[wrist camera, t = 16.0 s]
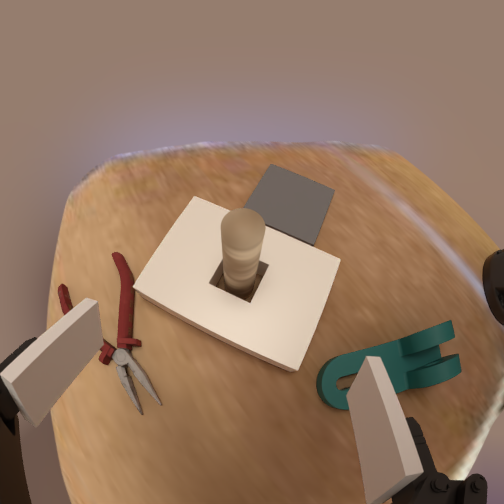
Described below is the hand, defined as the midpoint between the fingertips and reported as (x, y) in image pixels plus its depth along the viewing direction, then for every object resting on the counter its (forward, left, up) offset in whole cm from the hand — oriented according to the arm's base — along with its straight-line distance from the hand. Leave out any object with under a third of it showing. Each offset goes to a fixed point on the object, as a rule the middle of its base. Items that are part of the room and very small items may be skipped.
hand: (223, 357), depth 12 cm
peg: (+4, -10, -19) cm, 22 cm away
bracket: (-18, -7, -20) cm, 28 cm away
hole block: (+4, -10, -19) cm, 22 cm away
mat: (+3, -25, -19) cm, 32 cm away
